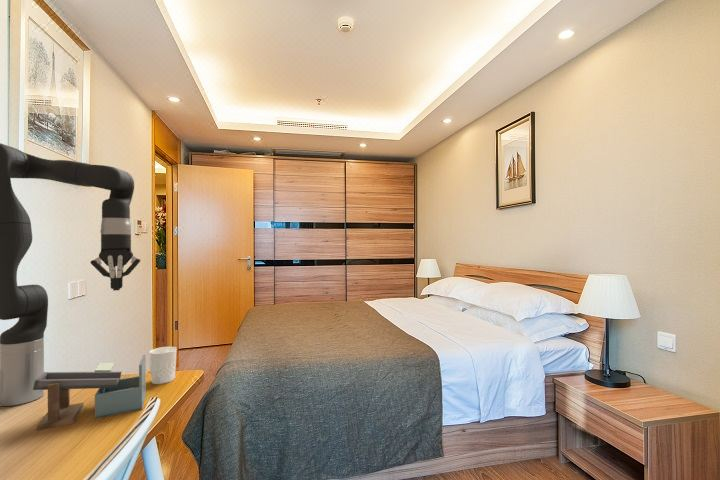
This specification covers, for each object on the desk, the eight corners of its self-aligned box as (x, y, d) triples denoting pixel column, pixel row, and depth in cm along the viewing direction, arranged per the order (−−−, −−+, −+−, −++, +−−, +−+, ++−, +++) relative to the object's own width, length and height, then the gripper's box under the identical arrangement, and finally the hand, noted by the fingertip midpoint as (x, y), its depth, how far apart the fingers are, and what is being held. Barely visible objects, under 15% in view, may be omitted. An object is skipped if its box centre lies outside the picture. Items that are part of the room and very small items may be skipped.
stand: (36, 430, 83) (36, 387, 83) (50, 412, 92) (50, 374, 92) (73, 423, 86) (73, 382, 86) (83, 406, 95) (83, 369, 95)
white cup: (164, 385, 109) (164, 354, 109) (143, 384, 110) (143, 353, 110) (182, 376, 116) (181, 346, 116) (162, 375, 118) (161, 345, 118)
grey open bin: (95, 418, 88) (94, 371, 88) (103, 403, 97) (103, 360, 97) (141, 409, 93) (141, 364, 93) (145, 395, 102) (145, 354, 102)
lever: (32, 390, 84) (35, 379, 84) (51, 372, 96) (53, 362, 96) (115, 387, 92) (117, 377, 92) (123, 371, 104) (125, 362, 104)
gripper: (143, 234, 111) (143, 287, 111) (92, 234, 105) (92, 290, 105) (140, 233, 105) (140, 289, 104) (86, 233, 99) (86, 293, 98)
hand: (116, 290), depth 105 cm, fingers closed
